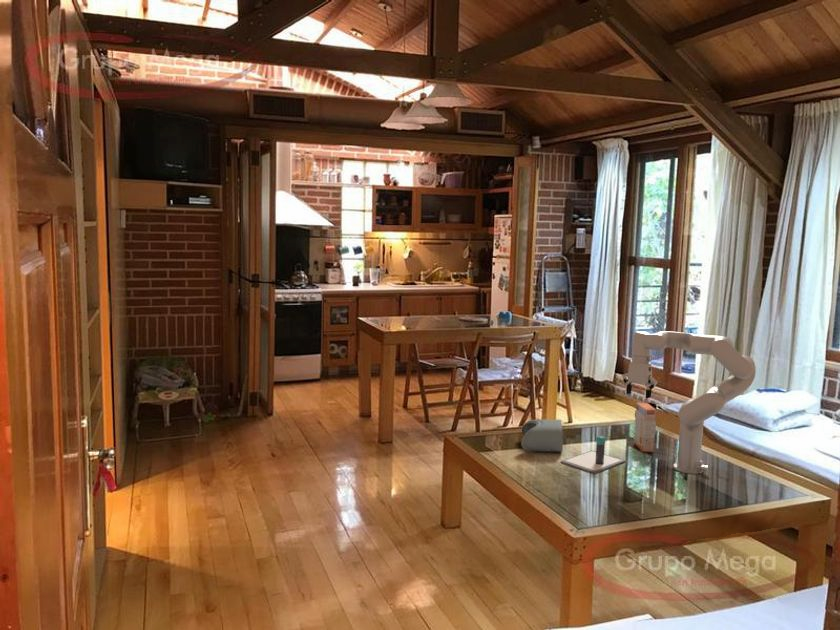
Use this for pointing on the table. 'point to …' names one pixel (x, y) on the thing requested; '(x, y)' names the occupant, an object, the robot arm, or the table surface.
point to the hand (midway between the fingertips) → (638, 395)
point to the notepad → (592, 462)
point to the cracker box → (645, 427)
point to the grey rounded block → (542, 435)
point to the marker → (600, 450)
